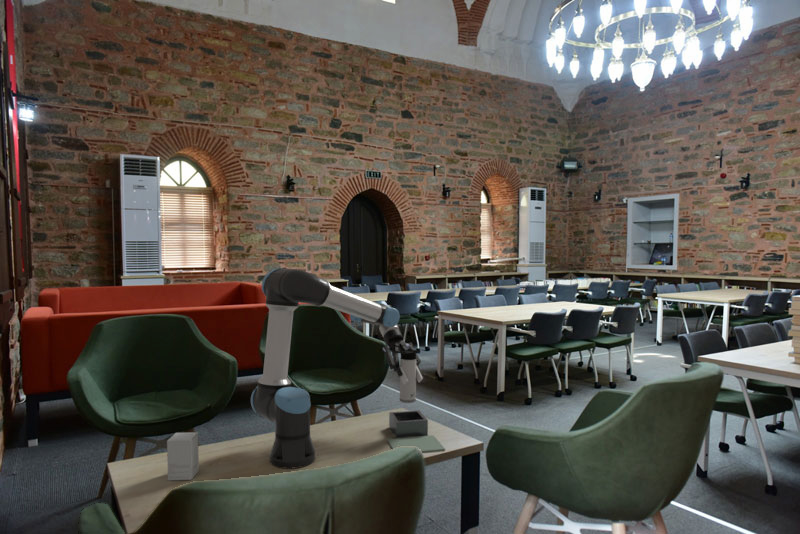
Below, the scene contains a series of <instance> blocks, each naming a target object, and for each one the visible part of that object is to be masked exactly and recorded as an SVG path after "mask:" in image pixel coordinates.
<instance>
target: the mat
mask: <svg viewBox="0 0 800 534" xmlns="http://www.w3.org/2000/svg"><path fill="white" fill-rule="evenodd" d="M387 442H388V444H389V446H390V448H391V450H393V448H396V447H400V446H416V447H418V448H419V449H421V451H422V452H423V453H432V452H433V451H435V452H441V451H440V450H445V451H446V448H445V447H444V445H442V443H441V442H440V440H438V439H437V437H436V436H435V435H433V434H432V435H428V436H416V437H404V438H396V437H395V438H387ZM398 445H399V446H398Z"/></svg>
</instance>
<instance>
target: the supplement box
mask: <svg viewBox="0 0 800 534" xmlns="http://www.w3.org/2000/svg"><path fill="white" fill-rule="evenodd" d="M166 448H167V452H166V453H167V455H166V456H167V459H166V460H167V481H191V480H193V478H194V477H195V476H196V475H197V474H198V473H199V471H200V470H199V469H200V467H199V465H200V463H199V460H200V459H199V433H198V432H197V431H196V432H194V431H193V432H175V433H174V434H172V436H171V437H169V439H168V440H166Z"/></svg>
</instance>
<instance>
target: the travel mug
mask: <svg viewBox="0 0 800 534" xmlns="http://www.w3.org/2000/svg"><path fill="white" fill-rule="evenodd" d="M416 353H418V350H417V349H414V350H406V351H402V352H401V353H400V357H399V365H400V366H399V367H401V366H402V368H403V370H404V372H405V374H406V377H407V379H408V382H407V383H406V384H405V385H404V384H403V382H402V380H401V377H399V401H400V402H401V403H405V404H409V403H410V404H411V403H414V402H416V396H417V394H416V393H417V378H416Z"/></svg>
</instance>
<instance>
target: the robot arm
mask: <svg viewBox="0 0 800 534" xmlns="http://www.w3.org/2000/svg"><path fill="white" fill-rule="evenodd" d="M261 291H262V293H263V294H264V296H265V306H266V308H267V309H268V319H267V320H268V321H267V331H266V342H265V349H264V350H265V351H264V363H263V371H262V372H263V373H262V376H261V377H260V378H259V379H258V380H257V386H256V387H255V389H253V390H252V393H251V396H250V404H251V408H252V411H254V413H255V414H257V415H258V416H259V417H261V418H262V419H266V420H267V421H269V422H271V423H274V424H275V425H274V430H275V432H274V435H275V436H274V440H273V444H272V448H271V451H270V454H269V463H270V465H272V466H274V467H276V468H280V467H286V468H285V469H293V468H292V467H298V468H300V467H299V466H303V467H305V466H308V465H311V464H312V463H313V462H315V460H316V449H315V446H314V443H313V440H312V438H311V405H312V403H311V395H310V394H309V392H308V391H307V390H306V389H303V388H302V387H295V386H292V381H291V380H290V378H288V374H289V373H288V372H289V363H290V353H291V341H292V331H293V330H292V329H293V319H294V313H295V312H294V311H295V310H297V309H298V308H299V303H301V304H308V305H313V306H316V307H321V306H324V307H328V308H330V309H332V310H336V311H339V312H342V313H345V314H348V315H349V317H350V320H351V321H352V322H356V323H364V324H369V325H376V326H377V327H378V329H379V332H380V335H382V336H381V337H382V339H383V341H384V343H385V344H384V345H383V347H382V349H381V350H382V352H383V353H384V355H385V358H386V362H387V363H388V364H387V365H388V366H389V369H390V370H393V371H394V372H396V374H397V376H398V377H399V378H400V377H401V380H402V382H403V384H404V385H405V384H406V383H407V382H408V379H407V377H406V374H405V372H404V370H403V368H402V366H401V367H400V357H399V354H401V352H402V351H406V350H415V348H414V344H413V343H412V342H409V343H407V342H405V340H404V336H403V334H402V332H401V330H400V328H399V325H398V323H399V322H400V318H401V317H400V312H399V310H398V309H397V308H394V307H392V306H389V305H388V304H387V302H386V301H384V300H383V299H381V300H377V301H372V300H370V299H367V298H365V297H362V296H360V295H357V294H355V293H351V292H349V291H347V290H344V289H341V288H339V287H336V286H334V285H331V284H330V282H329V280H326V279H325V278H324V279H323V278H321V277H319V276H318V275H315V274H313V273H310V272H308V271H306V270H303V269H297V268H284V267H280V268H273V269H272V270H270V271H268V272H267V273H266V274H265V275H264V277H263V278H262V282H261ZM417 353H418V352H416V381H417V382H418V383H421V382H422V381H423V379H424V377H423V375H422V373H421V372H422V370H421V369H420V364H421V363H422V360H421V359H420V357H419V355H418V354H417Z"/></svg>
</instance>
